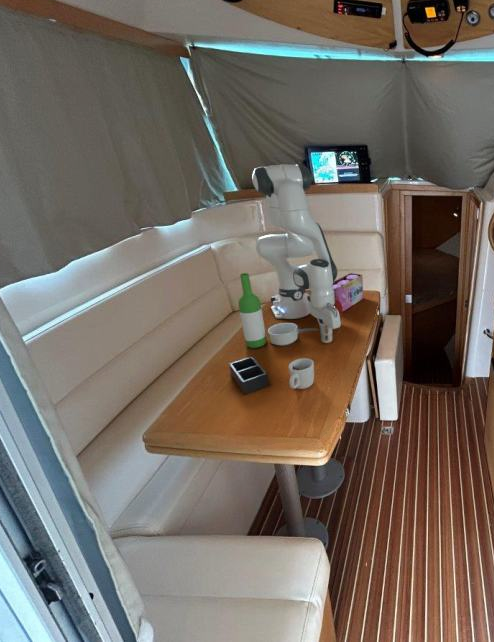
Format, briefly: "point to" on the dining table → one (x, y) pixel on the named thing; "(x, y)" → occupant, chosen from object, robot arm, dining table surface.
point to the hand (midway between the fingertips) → (326, 331)
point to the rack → (249, 374)
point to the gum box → (348, 290)
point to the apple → (338, 307)
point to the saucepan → (285, 333)
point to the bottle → (251, 315)
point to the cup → (301, 373)
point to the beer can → (324, 332)
